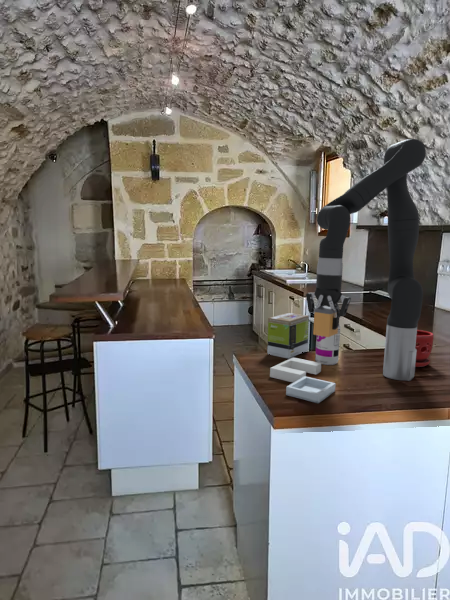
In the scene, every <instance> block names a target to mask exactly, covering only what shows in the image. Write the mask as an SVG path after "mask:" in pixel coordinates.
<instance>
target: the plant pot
mask: <svg viewBox="0 0 450 600" xmlns="http://www.w3.org/2000/svg"><path fill="white" fill-rule="evenodd" d="M433 345H434V333H433V332H430V331H427V330H422V329H417V334H416V345H415V349H417V352H416V363H415V368H420V367H421V368H422V367H425V366H428V365H429V364H430V363H431V359H429V357H430V355H431V353H432V350H433Z"/></svg>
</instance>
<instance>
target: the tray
mask: <svg viewBox="0 0 450 600" xmlns="http://www.w3.org/2000/svg"><path fill="white" fill-rule="evenodd" d="M285 389H286V390H285V391H286V392H285V395H286V396H289V397H293V398H296V399H300V400H305V401H308V402H310V403H311V402H312V403H315V404H320V403H321V402H322V401H324V400H325V399H327V398H328V397H330V396H331V395H332V394H334V392H336V382H332V381H327V380H323V379H318V378H315V377H310V376H307V375H306V376H304V377H302V378H301V379H299V380H297V381H295V382H294V383H293V382H291V383H290V384H289V385H287V386H286V388H285Z"/></svg>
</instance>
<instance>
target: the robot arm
mask: <svg viewBox="0 0 450 600" xmlns="http://www.w3.org/2000/svg"><path fill="white" fill-rule="evenodd" d="M426 155H427V150H426V146H425V145H424V142H422V141H421V140H419V139H416V138H408V139H404V140H402V141H399V142H396V143H393V144H391V145H389V147H387V148H386V150H385V152H384V155H383V156H384V157H383V165H382V166H380V167H378V168H377V169H375V170H374V171H372V172H370V173H369V174H368V175H366V176H364V177H363V178H361V179H360V180H358V181H357V182H356V183H354V184H353V185H352V186H351V187H350V188H349V189H348V190H346V191H345V192H344V193H343V194H342V195H340V196H339V197H336V198H334V199H333V200H332V201H330V202H328V203H327V204H325V205H324V206H323V207H321V209H320V210H319V211H318V213H317V216H316V222H317V224H318V227H320V228H321V229H323V230H326V231H327V233H326V235H325V237H324V238H322V239H320V242H319V249H318V261H317V266H316V280H315V281H316V283H315V291H314V292H307V293H306V294H305V297H306V304H307V311H308V312H309V313H311V314H313V315H314V314H315V309H316V308H322V307H324V306H327V307H330V308H331V310H333V316H334V318H333V324H332V329H333V330H335V329H337V328H338V327H339V325H340V318H342V317H344V316H347V313H348V309H349V306H350V303H351V300H352V298H351V297H350V296H345V295H343V294H342V285H343V283H342V282H343V269H344V268H343V267H344V263H343V262H344V261H343V258H344V257H343V255H344V244H345V241H346V239H347V236H348V233H349V228H350V226H351V225H350V224H351V215H352V214H355V213H358V212H359V211H361V210H362V209H363V208H365V207H366V206H367V205H368V204H369V203H370V202H372V201H373V200H374V199H375V198H376V197H377V196H378V195H380V194H381V193H383V191H385V189H386V194H387V195H386V197H387V200H386V201H387V236H388V237H387V242H388V243H387V244H388V255H389V256H388V257H389V269H388V280H387V281H388V282H387V294H388V296H389V298H390V299H391V303H390V311H389V314H388V316H387V318H386V332H385V343H384V357H383V368H382V375H383V376H384V377H386V378H388V379H390V380H391V379H392V380H397V381H408V382H410V381H412V380H413V379H414V377H415V373H416V367H415V363H416V352H417V349H415V345H417V343H416V334H417V330H418V325H419V321H420V319H421V314H422V313H421V312H422V306H423V297H424V296H423V295H424V291H423V287H422V284H421V282H419V281H418V280H417V279H415V275H414V257H415V252H416V248H417V245H418V241H419V237H420V236H419V235H420V233H419V232H420V216H419V214H420V213H419V211H418V208H417V206H416V204H415V201H414V200H413V198H412V196H411V194H410V192H409V188H408V176H407V175H408V174H409V173H410V172H412V171H414V170H415V169H417V168H419V167H420V166H421V165H422V164H423V163H424V161H425V160H426V159H425V158H426ZM315 298H316V300H317V302H316V304H315ZM340 300H341V304H342V305H341V308H340V307H339V301H340Z"/></svg>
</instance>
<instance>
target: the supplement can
mask: <svg viewBox="0 0 450 600" xmlns="http://www.w3.org/2000/svg"><path fill="white" fill-rule="evenodd" d="M315 337H316V338H315V340H316V341H315V354H314V355H315V356H314V358H315V359H314V360H315V362H318V363H321V365H326V366H334V365H336V364H338V363H339V358H340V357H339V356H340V355H339V354H340V341H341V340H340V339H341V325H340V324H339V327H338V333H337V334H335V335H333V336H330V337H325V336H319V335H315Z"/></svg>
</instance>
